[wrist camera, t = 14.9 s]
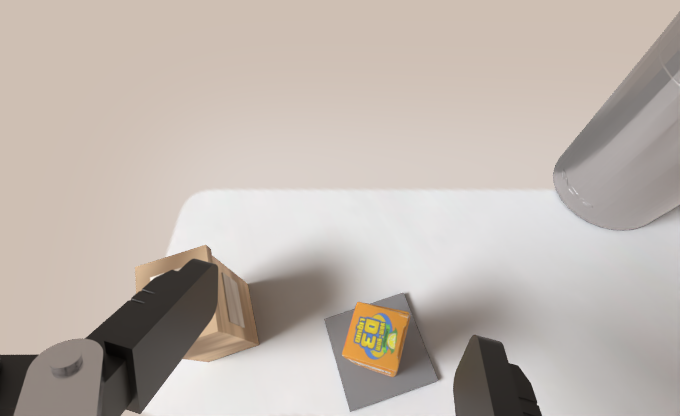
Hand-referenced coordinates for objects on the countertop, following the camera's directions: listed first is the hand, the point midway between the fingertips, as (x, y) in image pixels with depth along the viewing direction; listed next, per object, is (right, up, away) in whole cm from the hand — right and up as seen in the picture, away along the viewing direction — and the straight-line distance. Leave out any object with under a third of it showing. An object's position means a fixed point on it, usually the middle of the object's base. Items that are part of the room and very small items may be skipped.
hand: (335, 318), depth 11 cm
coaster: (+3, -8, +18) cm, 20 cm away
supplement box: (+3, -8, +17) cm, 19 cm away
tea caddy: (-9, -6, +20) cm, 23 cm away
